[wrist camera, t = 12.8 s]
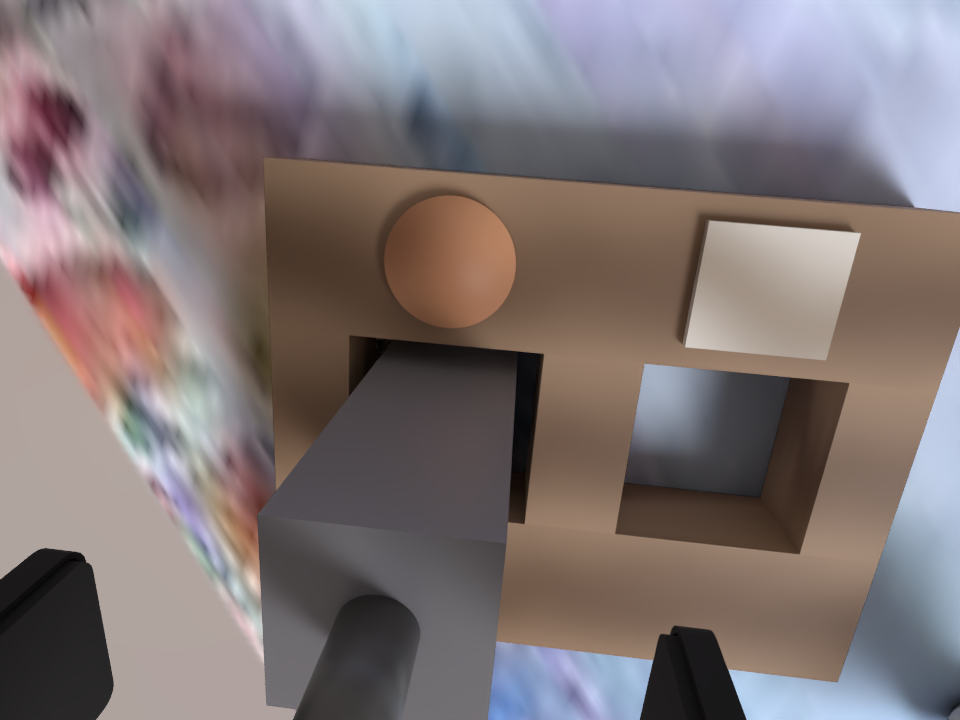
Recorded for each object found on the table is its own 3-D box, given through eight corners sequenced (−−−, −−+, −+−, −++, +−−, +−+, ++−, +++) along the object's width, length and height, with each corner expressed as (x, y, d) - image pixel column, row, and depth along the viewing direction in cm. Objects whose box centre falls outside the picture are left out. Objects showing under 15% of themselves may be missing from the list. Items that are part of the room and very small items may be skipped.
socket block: (307, 158, 20) (258, 157, 16) (915, 207, 19) (1006, 217, 15) (313, 555, 25) (277, 621, 22) (794, 611, 24) (841, 689, 21)
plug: (398, 332, 22) (155, 646, 8) (518, 344, 22) (498, 689, 7) (395, 440, 23) (183, 876, 9) (507, 452, 23) (472, 918, 9)
